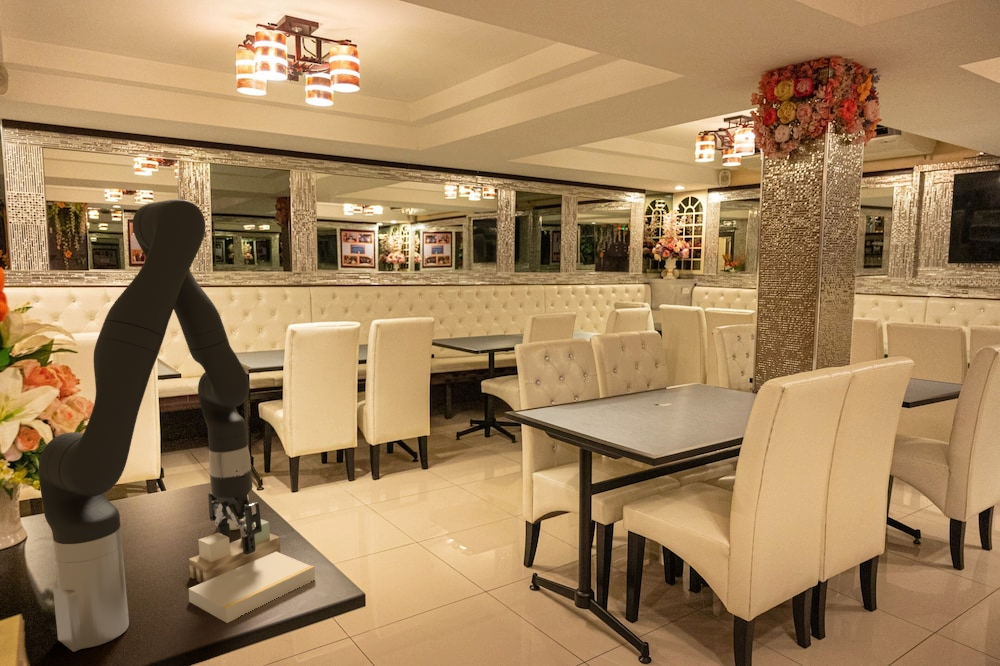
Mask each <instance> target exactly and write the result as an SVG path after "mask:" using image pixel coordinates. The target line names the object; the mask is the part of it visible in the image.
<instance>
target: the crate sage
mask: <svg viewBox="0 0 1000 666" xmlns="http://www.w3.org/2000/svg"><path fill="white" fill-rule="evenodd" d="M254 525H255V527H256V524H255V522H254ZM244 527H245V529H246V530H247V528H246V524H245V525H244ZM261 527H262V531H261V532H259V533H257V534H255V544H258V543H260V542H263V541H265V540H268V539H270V533H271V532H270V522H269V521H267V520H265V519H262V518H261ZM240 539H241V541H242V533H241V532H240Z"/></svg>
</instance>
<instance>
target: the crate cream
mask: <svg viewBox="0 0 1000 666" xmlns="http://www.w3.org/2000/svg"><path fill="white" fill-rule="evenodd" d="M197 542H198V555H199V556H200V557H201V558H203V559H205V560H207V561H209V562H213V561H216V560H218V559H221V558H223V557H225V556H228V555H230V543H231V542H230V541H229V537H227V536H225V535H223V534H220V533H218V532H215V533H212V534H210V535H207V536H205V537H201V538H199V539H198V540H197Z"/></svg>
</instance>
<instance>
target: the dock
mask: <svg viewBox="0 0 1000 666" xmlns="http://www.w3.org/2000/svg"><path fill="white" fill-rule="evenodd" d="M315 568H316V567H315V566H313V565H310V564H307V563H306V562H302V561H300V560H298V559H295V558H293V557H291V556H288V555H285V554H283V553H282V552H281V553H279V552H274V553H271V554H269V555H267V556H264V557H262V558H260V559H257V560H255V561H253V562H250V563H248V564H245V565H243V566H241V567H238V568H236V569H234V570H231V571H229V572H227V573H224V574H222V575H220V576H217V577H215V578H212V579H210V580H208V581H205V582H200V583H199V584H196V585H194V586H192V587H189V588H188V601H189V603H191V604H192V605H194V606H196V607H198V608H199V609H201V610H203V611H205V612H206V613H209V614H211V615H212V616H214V617H215V618H217V619H219V620H221V621H223V622H224V623H225V624H228V623H230V622H233V621H235V620H236V619H238V617H239V618H240V616H241V615H243V616H244V614H245V613H247V614H249V613H250V611H251V612H253V611H255V610H256V609H255V608H257V609H259V608H261V607H262V605H263V606H265V605H267V604H269V603H271V602H272V601H271V600H273V601H275V600H277V599H279V598H281V597H283V596H285V595H287V594H289V593H288V592H290V591H292V590H294V589H296V590H297V588H298V589H299V587H300V588H301V587H304V586H306V585H308V584H309V583H312V582H314V581H315V580H316V574H315V573H316V572H315V571H316V570H315ZM313 580H314V581H313ZM311 581H312V582H311ZM305 584H306V585H305ZM303 585H304V586H303ZM294 591H295V590H294ZM292 592H293V591H292ZM286 593H287V594H286ZM290 593H291V592H290ZM284 594H285V595H284ZM282 595H283V596H282ZM278 597H279V598H278ZM276 598H277V599H276ZM274 599H275V600H274ZM270 601H271V602H270ZM268 602H269V603H268ZM266 603H267V604H266ZM264 604H265V605H264ZM260 606H261V607H260ZM258 607H259V608H258ZM254 609H255V610H254ZM252 610H253V611H252ZM248 612H249V613H248ZM245 615H246V614H245ZM241 617H242V616H241Z"/></svg>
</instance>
